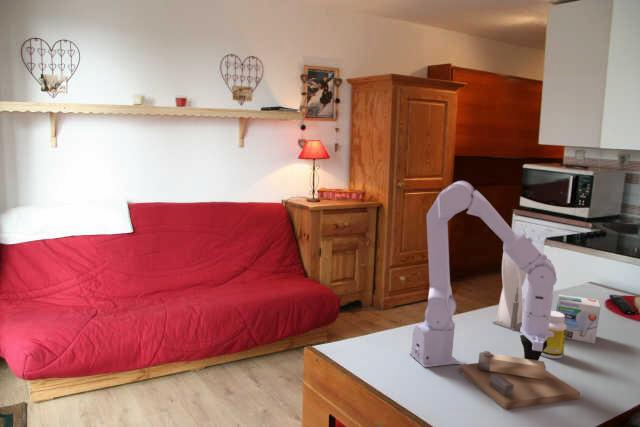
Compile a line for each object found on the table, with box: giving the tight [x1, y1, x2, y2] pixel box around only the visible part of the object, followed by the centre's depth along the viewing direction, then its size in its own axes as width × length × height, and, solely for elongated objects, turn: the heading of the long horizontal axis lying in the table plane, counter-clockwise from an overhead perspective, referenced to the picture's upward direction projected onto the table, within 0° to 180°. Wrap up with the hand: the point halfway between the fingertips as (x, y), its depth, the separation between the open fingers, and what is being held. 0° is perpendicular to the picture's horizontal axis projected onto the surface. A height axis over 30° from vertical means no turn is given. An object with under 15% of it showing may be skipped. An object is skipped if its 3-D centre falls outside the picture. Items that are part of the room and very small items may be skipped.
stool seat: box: [458, 362, 581, 410], centre depth 115 cm, size 19×17×4 cm
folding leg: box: [477, 350, 547, 380], centre depth 117 cm, size 14×3×4 cm, turn 75°
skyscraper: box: [492, 250, 528, 332], centre depth 151 cm, size 8×8×28 cm
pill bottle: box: [540, 310, 567, 360], centre depth 132 cm, size 6×6×11 cm
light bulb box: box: [555, 293, 602, 344], centre depth 145 cm, size 11×7×11 cm, turn 68°
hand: (530, 367), depth 119 cm, fingers closed
